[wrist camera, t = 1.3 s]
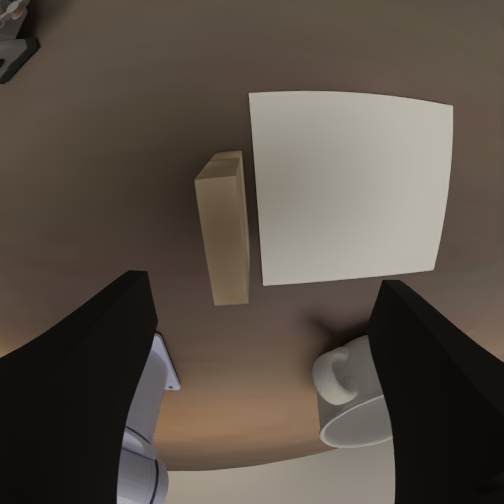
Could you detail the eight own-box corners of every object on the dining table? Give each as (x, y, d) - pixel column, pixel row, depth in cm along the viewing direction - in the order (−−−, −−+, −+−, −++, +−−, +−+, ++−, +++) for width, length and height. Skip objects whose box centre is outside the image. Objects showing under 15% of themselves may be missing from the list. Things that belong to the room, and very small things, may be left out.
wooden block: (225, 241, 20) (214, 305, 14) (215, 152, 17) (194, 179, 11) (249, 239, 20) (248, 303, 14) (241, 150, 17) (235, 176, 11)
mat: (263, 282, 21) (263, 285, 21) (248, 93, 15) (248, 93, 15) (431, 267, 21) (433, 270, 21) (449, 105, 15) (452, 106, 15)
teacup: (422, 355, 26) (449, 413, 19) (336, 401, 29) (349, 461, 22) (381, 269, 21) (426, 341, 14) (266, 336, 24) (270, 417, 17)
